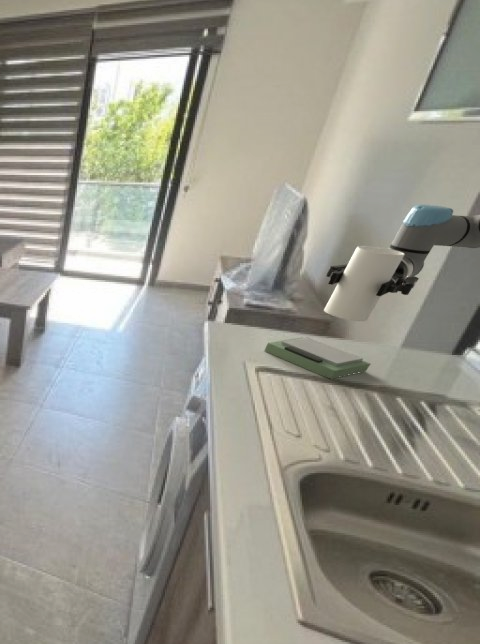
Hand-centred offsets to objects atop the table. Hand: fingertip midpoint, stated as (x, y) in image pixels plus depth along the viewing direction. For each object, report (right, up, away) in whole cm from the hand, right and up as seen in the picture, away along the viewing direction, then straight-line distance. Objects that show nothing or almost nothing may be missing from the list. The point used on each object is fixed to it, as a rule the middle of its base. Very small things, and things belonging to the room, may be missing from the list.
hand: (356, 284), depth 111 cm
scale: (+2, -18, +13) cm, 22 cm away
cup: (+4, -7, +7) cm, 10 cm away
